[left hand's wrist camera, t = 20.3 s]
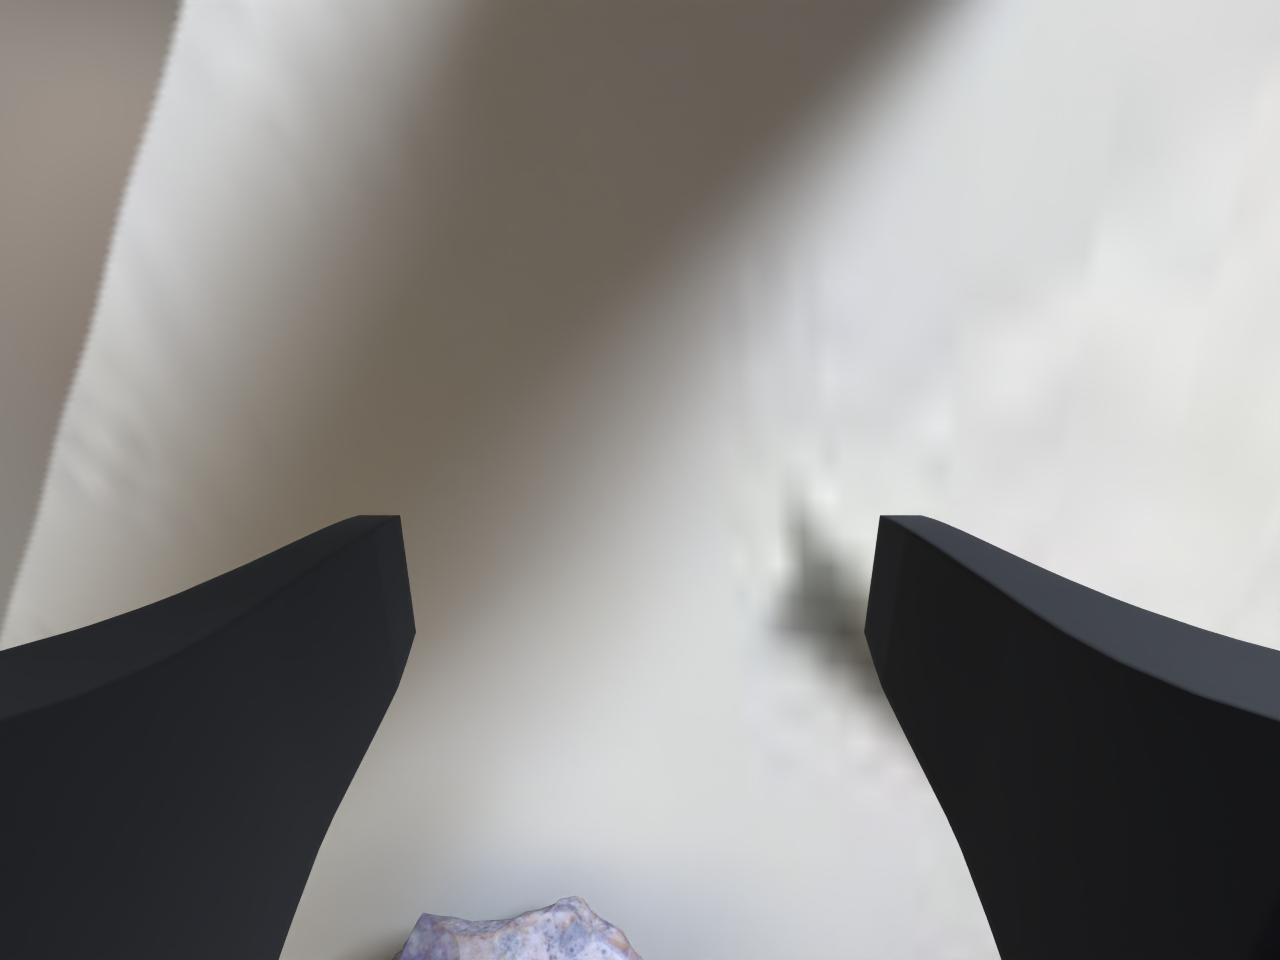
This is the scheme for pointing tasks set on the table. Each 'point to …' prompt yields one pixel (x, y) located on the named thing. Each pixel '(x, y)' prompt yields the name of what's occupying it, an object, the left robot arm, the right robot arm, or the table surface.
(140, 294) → the table surface
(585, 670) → the table surface
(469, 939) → the stone
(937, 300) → the table surface
